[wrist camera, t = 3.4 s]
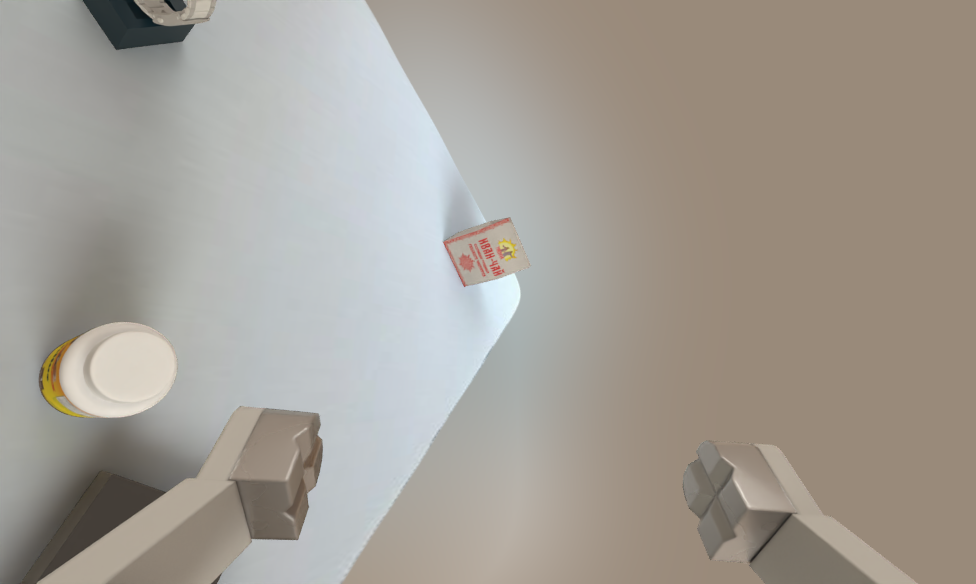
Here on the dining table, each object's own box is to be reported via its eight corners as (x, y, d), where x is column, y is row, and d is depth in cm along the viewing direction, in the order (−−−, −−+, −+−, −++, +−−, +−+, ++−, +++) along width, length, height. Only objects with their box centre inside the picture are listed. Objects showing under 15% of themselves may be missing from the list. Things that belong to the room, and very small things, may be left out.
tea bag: (458, 232, 65) (516, 212, 59) (478, 275, 67) (536, 260, 60) (443, 242, 62) (502, 222, 56) (464, 286, 64) (524, 272, 58)
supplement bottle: (88, 319, 33) (131, 295, 26) (158, 367, 35) (213, 356, 29) (9, 386, 29) (38, 376, 23) (94, 434, 32) (141, 437, 26)
